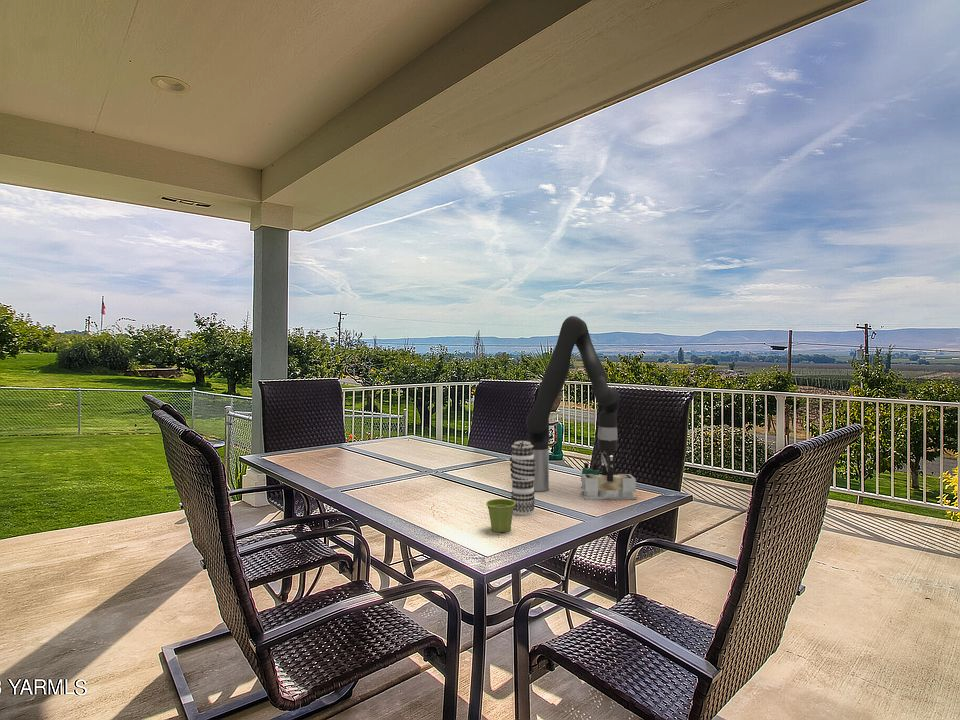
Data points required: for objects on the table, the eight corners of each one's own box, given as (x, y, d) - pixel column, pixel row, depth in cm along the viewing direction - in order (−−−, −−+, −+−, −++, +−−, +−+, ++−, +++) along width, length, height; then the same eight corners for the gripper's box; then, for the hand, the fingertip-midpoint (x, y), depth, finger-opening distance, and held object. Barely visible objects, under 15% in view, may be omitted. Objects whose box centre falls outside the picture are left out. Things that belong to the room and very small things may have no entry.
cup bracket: (584, 499, 193) (584, 478, 193) (581, 493, 201) (581, 474, 201) (636, 499, 192) (636, 478, 192) (630, 493, 201) (630, 474, 201)
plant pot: (503, 537, 151) (503, 508, 151) (480, 530, 157) (480, 503, 157) (521, 529, 158) (521, 502, 158) (498, 523, 164) (498, 497, 165)
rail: (590, 490, 195) (590, 477, 195) (588, 487, 199) (588, 474, 199) (628, 490, 194) (628, 477, 194) (625, 487, 199) (625, 474, 199)
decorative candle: (517, 516, 172) (516, 444, 172) (505, 509, 180) (505, 440, 180) (540, 513, 175) (539, 442, 175) (528, 506, 184) (527, 439, 184)
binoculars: (609, 464, 212) (596, 465, 205) (608, 489, 211) (594, 491, 204) (592, 461, 219) (578, 462, 212) (590, 485, 218) (577, 487, 211)
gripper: (594, 435, 204) (594, 474, 204) (601, 440, 190) (601, 483, 190) (613, 435, 204) (613, 475, 204) (621, 440, 190) (621, 483, 189)
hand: (607, 478), depth 197 cm, fingers open, 8 cm apart
